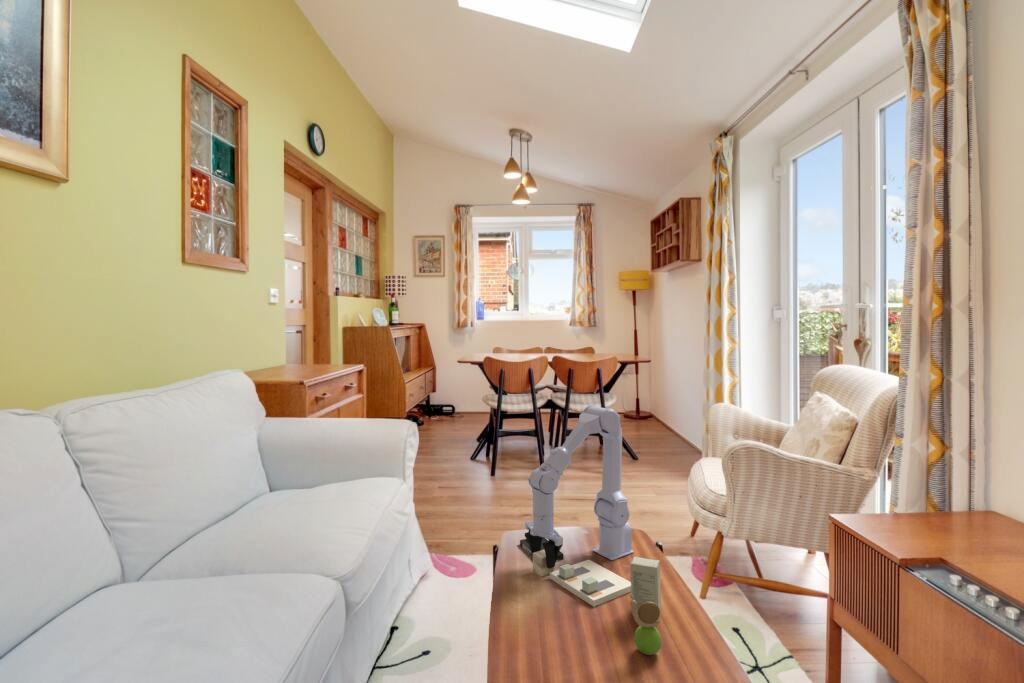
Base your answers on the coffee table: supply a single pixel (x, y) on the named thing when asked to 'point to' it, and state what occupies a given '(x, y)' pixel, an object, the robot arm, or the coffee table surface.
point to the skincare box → (645, 581)
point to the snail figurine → (646, 627)
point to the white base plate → (607, 580)
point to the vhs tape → (526, 546)
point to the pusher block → (540, 563)
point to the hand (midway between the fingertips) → (543, 562)
